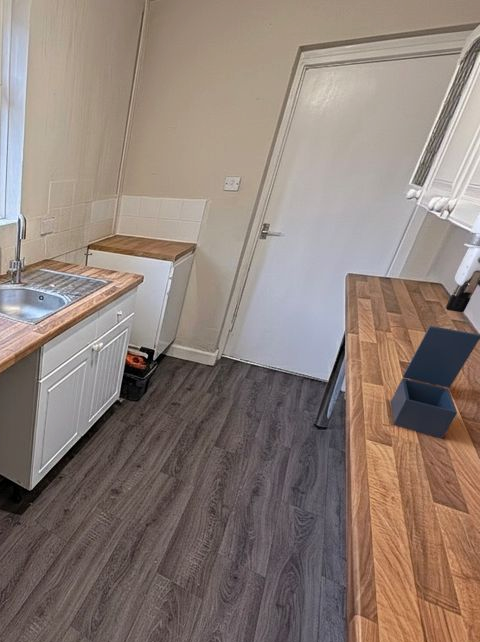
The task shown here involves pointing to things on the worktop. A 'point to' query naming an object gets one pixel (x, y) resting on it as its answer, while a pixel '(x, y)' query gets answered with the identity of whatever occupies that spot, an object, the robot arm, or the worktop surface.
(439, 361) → the lid
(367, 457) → the worktop surface
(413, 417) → the chest
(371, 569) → the worktop surface
